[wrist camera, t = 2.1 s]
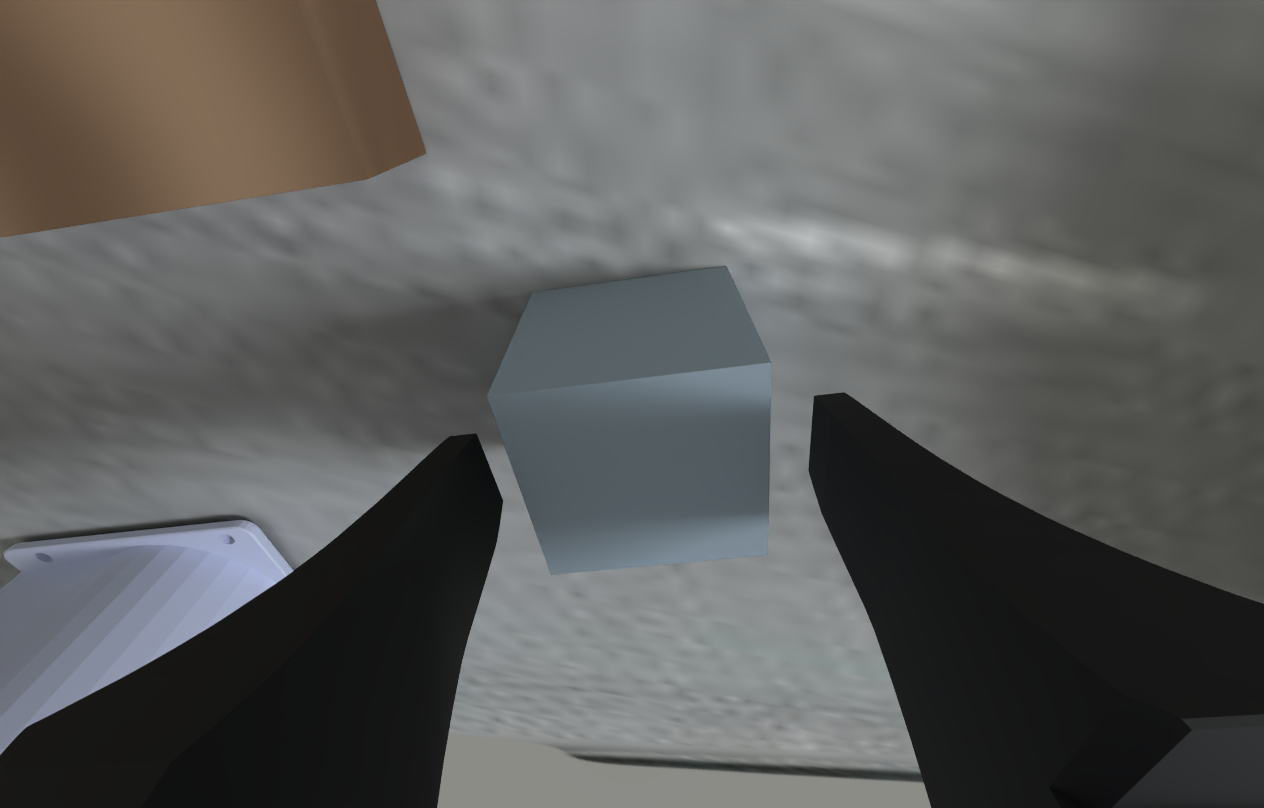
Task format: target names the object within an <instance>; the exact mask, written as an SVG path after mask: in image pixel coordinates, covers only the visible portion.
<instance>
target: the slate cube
mask: <svg viewBox="0 0 1264 808" xmlns="http://www.w3.org/2000/svg"><path fill="white" fill-rule="evenodd" d="M487 399H488V402H489V405H490V407H491V410H492V413H493V416H494V418H495V421H496V424H497V427H498V430H499V432H500V435H501V438H502V441H503V443H504V446H505V449H506V452H507V454H508V457H509V460H510V463H511V465H512V468H513V471H514V474H515V477H516V479H517V482H518V485H519V488H520V490H521V493H522V496H523V499H524V501H525V504H526V507H527V510H528V512H529V515H530V518H531V521H532V524H533V526H534V529H535V532H536V535H537V537H538V540H539V543H540V546H541V548H542V551H543V554H544V557H545V559H546V562H547V565H548V568H549V571H550V573H551V575H552V574H563V573H574V572H585V571H596V570H607V569H619V568H630V567H641V566H652V565H663V564H674V563H685V562H696V561H707V560H718V559H729V558H740V557H751V556H762V555H768V539H769V472H770V406H771V361H770V359H769V357H768V355H767V352H766V350H765V348H764V346H763V344H762V342H761V339H760V337H759V335H758V333H757V331H756V329H755V326H754V324H753V322H752V320H751V318H750V316H749V313H748V311H747V309H746V307H745V305H744V303H743V300H742V298H741V296H740V294H739V292H738V290H737V287H736V285H735V283H734V281H733V279H732V277H731V274H730V272H729V270H728V268H727V266H722V267H715V268H707V269H700V270H693V271H685V272H678V273H671V274H663V275H656V276H649V277H641V278H634V279H626V280H619V281H612V282H604V283H597V284H590V285H582V286H575V287H568V288H560V289H553V290H546V291H538V292H532V294H531V296H530V299H529V301H528V303H527V305H526V308H525V310H524V312H523V315H522V317H521V319H520V321H519V324H518V326H517V328H516V331H515V333H514V335H513V337H512V340H511V342H510V344H509V347H508V349H507V351H506V354H505V356H504V358H503V360H502V363H501V365H500V367H499V370H498V372H497V374H496V376H495V379H494V381H493V383H492V386H491V388H490V390H489V392H488V395H487Z"/></svg>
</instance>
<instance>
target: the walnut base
mask: <svg viewBox="0 0 1264 808" xmlns="http://www.w3.org/2000/svg"><path fill="white" fill-rule="evenodd" d="M424 154H426V150H425V147H424V144H423V141H422V138H421V135H420V132H419V129H418V126H417V123H416V120H415V117H414V114H413V111H412V108H411V105H410V102H409V99H408V96H407V93H406V90H405V87H404V84H403V81H402V78H401V75H400V72H399V69H398V66H397V63H396V60H395V57H394V54H393V51H392V48H391V45H390V42H389V39H388V36H387V33H386V30H385V27H384V24H383V21H382V18H381V15H380V12H379V9H378V6H377V3H376V0H0V238H1V237H7V236H13V235H20V234H26V233H32V232H38V231H45V230H51V229H57V228H64V227H70V226H76V225H82V224H89V223H95V222H101V221H108V220H114V219H120V218H127V217H133V216H139V215H145V214H152V213H158V212H164V211H171V210H177V209H183V208H189V207H196V206H202V205H208V204H215V203H221V202H227V201H233V200H240V199H246V198H252V197H259V196H265V195H271V194H277V193H284V192H290V191H296V190H303V189H309V188H315V187H322V186H328V185H334V184H340V183H347V182H353V181H359V180H366V179H369V178H371V177H374V176H376V175H378V174H381V173H383V172H385V171H387V170H390V169H392V168H394V167H397V166H399V165H401V164H403V163H406V162H408V161H410V160H412V159H415V158H417V157H419V156H422V155H424Z"/></svg>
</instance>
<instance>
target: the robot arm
mask: <svg viewBox="0 0 1264 808" xmlns="http://www.w3.org/2000/svg"><path fill="white" fill-rule="evenodd" d="M809 474H810V477H811V480H812V484H813V487H814V490H815V494H816V497H817V500H818V503H819V506H820V509H821V513H822V515H823V517H824V519H825V522H826V524H827V526H828V528H829V530H830V533H831V535H832V537H833V539H834V541H835V544H836V546H837V548H838V550H839V552H840V555H841V557H842V559H843V561H844V563H845V565H846V568H847V570H848V572H849V574H850V576H851V578H852V581H853V583H854V585H855V587H856V589H857V591H858V594H859V596H860V598H861V600H862V602H863V604H864V607H865V609H866V611H867V614H868V616H869V619H870V621H871V623H872V626H873V628H874V631H875V634H876V636H877V639H878V642H879V645H880V648H881V651H882V654H883V657H884V660H885V663H886V665H887V668H888V671H889V674H890V677H891V680H892V683H893V686H894V689H895V692H896V695H897V698H898V701H899V705H900V708H901V711H902V714H903V717H904V720H905V723H906V726H907V729H908V732H909V735H910V739H911V742H912V745H913V748H914V752H915V755H916V758H917V762H918V765H919V768H920V771H921V775H922V778H923V781H924V785H925V788H926V791H927V794H928V798H929V801H930V805H931V808H1264V604H1262V603H1259V602H1256V601H1253V600H1250V599H1247V598H1244V597H1241V596H1238V595H1235V594H1232V593H1229V592H1227V591H1224V590H1221V589H1218V588H1216V587H1213V586H1210V585H1208V584H1205V583H1202V582H1200V581H1197V580H1194V579H1192V578H1189V577H1186V576H1184V575H1181V574H1178V573H1176V572H1173V571H1170V570H1168V569H1165V568H1163V567H1160V566H1157V565H1155V564H1152V563H1150V562H1148V561H1145V560H1143V559H1140V558H1138V557H1135V556H1133V555H1130V554H1128V553H1125V552H1123V551H1120V550H1118V549H1116V548H1113V547H1111V546H1109V545H1107V544H1104V543H1102V542H1100V541H1098V540H1095V539H1093V538H1091V537H1088V536H1086V535H1084V534H1082V533H1079V532H1077V531H1075V530H1073V529H1070V528H1068V527H1066V526H1064V525H1062V524H1060V523H1057V522H1055V521H1053V520H1051V519H1049V518H1047V517H1045V516H1043V515H1041V514H1039V513H1037V512H1035V511H1033V510H1031V509H1029V508H1027V507H1025V506H1023V505H1021V504H1019V503H1017V502H1015V501H1014V500H1012V499H1010V498H1008V497H1006V496H1004V495H1002V494H1000V493H998V492H996V491H994V490H993V489H991V488H989V487H987V486H985V485H984V484H982V483H980V482H978V481H977V480H975V479H973V478H972V477H970V476H968V475H967V474H965V473H963V472H962V471H960V470H958V469H957V468H955V467H953V466H952V465H950V464H948V463H947V462H945V461H944V460H942V459H940V458H939V457H937V456H936V455H934V454H933V453H931V452H929V451H928V450H926V449H925V448H923V447H922V446H920V445H919V444H917V443H916V442H914V441H913V440H912V439H910V438H909V437H907V436H906V435H904V434H903V433H901V432H900V431H898V430H897V429H896V428H894V427H893V426H891V425H890V424H889V423H887V422H886V421H884V420H883V419H882V418H880V417H879V416H877V415H876V414H875V413H873V412H872V411H870V410H869V409H868V408H866V407H865V406H863V405H862V404H861V403H859V402H858V401H856V400H855V399H854V398H852V397H851V396H849V395H848V394H846V393H845V392H844V393H835V394H826V395H817V396H814V403H813V417H812V431H811V444H810V458H809ZM502 505H503V499H502V497H501V494H500V492H499V489H498V487H497V484H496V482H495V479H494V476H493V474H492V471H491V469H490V466H489V464H488V461H487V459H486V456H485V454H484V451H483V449H482V446H481V444H480V441H479V439H478V436H477V434H467V435H458V436H450V437H448V438H447V439H446V440H445V441H443V442H442V443H441V444H440V445H439V446H438V447H437V448H435V449H434V450H433V451H432V452H431V453H430V454H429V455H428V456H427V457H426V458H425V459H423V460H422V461H421V462H420V463H419V464H418V465H417V466H416V467H415V468H414V469H413V470H412V471H411V472H410V473H409V474H408V475H406V476H405V477H404V478H403V479H402V480H401V481H400V482H399V483H398V484H397V485H396V486H395V487H394V488H392V489H391V490H390V491H389V492H388V493H387V494H386V495H385V496H384V497H383V498H382V499H381V500H380V501H378V502H377V503H376V504H375V505H374V506H373V507H372V508H370V509H369V510H368V511H367V512H366V513H365V514H363V515H362V516H361V517H360V518H359V519H358V520H356V521H355V522H354V523H353V524H352V525H351V526H349V527H348V528H347V529H346V530H345V531H344V532H343V533H341V534H340V535H339V536H338V537H337V538H335V539H334V540H333V541H332V542H331V543H329V544H328V545H327V546H326V547H324V548H323V549H322V550H320V551H319V552H318V553H317V554H315V555H314V556H313V557H311V558H310V559H309V560H307V561H306V562H305V563H303V564H302V565H301V566H299V567H298V568H297V569H295V570H294V571H293V569H292V568H291V567H290V566H289V564H288V563H287V562H286V561H285V559H284V558H283V557H282V556H281V554H280V553H279V552H278V551H277V549H276V548H275V547H274V546H273V544H272V543H271V542H270V541H269V539H268V538H267V537H266V536H265V534H264V533H263V532H262V531H261V529H260V528H259V527H258V526H257V525H256V524H254V523H252V522H249V521H246V520H235V521H225V522H216V523H206V524H196V525H187V526H177V527H168V528H158V529H148V530H139V531H129V532H120V533H110V534H101V535H91V536H81V537H72V538H62V539H53V540H43V541H33V542H24V543H16V544H13V545H12V546H11V547H10V548H8V549H7V550H6V551H5V552H4V553H3V554H4V558H5V559H6V560H7V561H8V562H9V563H10V564H12V565H13V566H14V567H16V568H17V569H18V570H19V571H21V572H20V573H19V574H18V575H17V576H15V577H14V578H13V579H12V580H10V581H9V582H8V583H7V584H6V585H4V586H3V587H2V588H1V589H0V808H437V804H438V797H439V790H440V783H441V776H442V769H443V762H444V756H445V750H446V744H447V739H448V733H449V727H450V721H451V715H452V709H453V704H454V699H455V694H456V689H457V684H458V679H459V674H460V669H461V664H462V659H463V655H464V651H465V647H466V644H467V640H468V636H469V633H470V630H471V626H472V623H473V620H474V617H475V613H476V610H477V607H478V603H479V600H480V597H481V594H482V590H483V587H484V584H485V581H486V577H487V574H488V571H489V567H490V564H491V560H492V557H493V554H494V550H495V547H496V543H497V538H498V532H499V526H500V519H501V512H502Z"/></svg>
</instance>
